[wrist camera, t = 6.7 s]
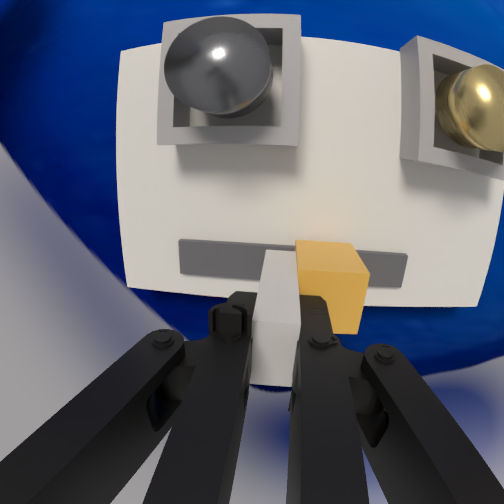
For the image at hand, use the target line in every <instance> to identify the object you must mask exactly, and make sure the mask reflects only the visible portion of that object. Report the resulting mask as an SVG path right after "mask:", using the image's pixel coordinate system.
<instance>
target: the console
mask: <svg viewBox="0 0 504 504" xmlns="http://www.w3.org/2000/svg"><path fill="white" fill-rule="evenodd" d="M223 16H225V17H233V18H237V19H240V20H243V21H245V22H247V23H249V24H251V25H252V26H253V27H255V28H256V29H257V30H258V31H259V32H260V33H261V34H262V36H263V37H264V39H265V41H266V43H267V45H268V49H269V53H270V59H271V64H272V70H273V84H272V88H271V91H270V93H269V95H268V97H267V98H266V100H265V101H264V102H263V103H262V104H261V105H260V106H259V107H258V108H257V109H256V110H254V111H252V112H251V113H249V114H246V115H244V116H241V117H237V118H219V117H215V116H212V115H209V114H207V113H204V112H202V111H199V110H197V109H194V108H192V107H189V106H187V105H185V104H184V103H182V102H181V101H179V100H178V99H177V98H176V97H175V96H174V95H173V94H172V92H171V91H170V89H169V87H168V85H167V83H166V80H165V75H164V62H165V57H166V54H167V51H168V49H169V47H170V45H171V44H172V42H173V41H174V39H175V38H176V37H177V36H178V35H179V34H180V33H181V32H182V31H183V30H184V29H186V28H187V27H189V26H190V25H192V24H194V23H196V22H198V21H201V20H203V19H207V18H211V17H223ZM483 64H489V65H493V66H496V65H494V64H491V63H489V62H487V61H485V60H483V59H480V58H478V57H476V56H474V55H471V54H469V53H466V52H464V51H461V50H459V49H456V48H453V47H451V46H448V45H445V44H442V43H439V42H436V41H433V40H430V39H427V38H424V37H421V36H415V37H414V38H413V39H412V40H410V41H409V42H408V43H407V44H405V45H404V46H403V47H401V48H400V52H398V51H394V50H390V49H385V48H380V47H375V46H370V45H364V44H359V43H352V42H346V41H338V40H330V39H321V38H310V37H301V15H290V14H235V15H219V16H207V17H198V18H190V19H182V20H175V21H169V22H164V26H163V35H162V43H160V44H154V45H148V46H143V47H138V48H133V49H128V50H124V51H121V56H120V66H119V79H118V94H117V119H116V165H117V190H118V207H119V220H120V231H121V241H122V250H123V258H124V266H125V273H126V280H127V287H133V288H141V289H149V290H158V291H166V292H176V293H185V294H195V295H205V296H216V297H227V298H229V296H230V295H231V294H233V293H234V292H235V291H244V292H257V293H258V288H259V283H260V278H261V273H262V268H263V263H264V258H265V253H266V250H281V251H295V241H296V240H310V241H324V242H339V243H351V244H352V245H353V247H354V249H355V250H356V252H357V253H358V255H359V257H360V258H361V260H362V261H363V263H364V265H365V266H366V268H367V269H368V271H369V273H370V277H369V282H368V287H367V292H366V297H365V301H364V306H394V307H475V306H477V304H478V301H479V298H480V295H481V291H482V288H483V285H484V282H485V278H486V275H487V271H488V268H489V264H490V260H491V256H492V252H493V248H494V243H495V239H496V234H497V229H498V224H499V218H500V212H501V206H502V199H503V192H504V152H498V151H489V150H480V149H469V148H464V147H461V146H459V145H458V144H456V143H455V142H453V141H452V140H451V139H450V138H449V137H448V136H447V134H446V133H445V131H444V130H443V128H442V126H441V124H440V122H439V120H438V117H437V113H436V108H435V96H436V91H437V88H438V86H439V84H440V83H441V81H442V80H443V79H444V78H446V77H448V76H450V75H453V74H455V73H458V72H461V71H464V70H467V69H470V68H473V67H476V66H479V65H483ZM496 67H498V66H496ZM498 68H499V69H501V70H502V71H504V69H502V68H500V67H498Z"/></svg>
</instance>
